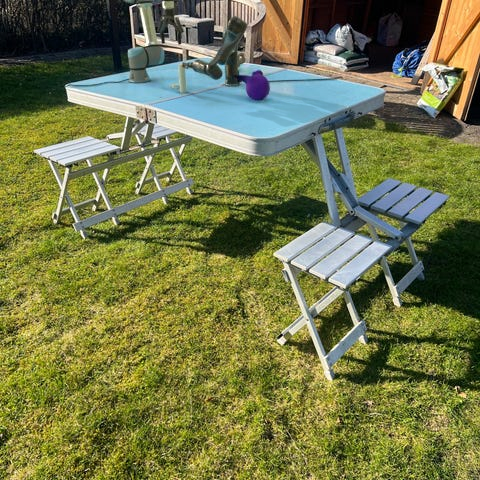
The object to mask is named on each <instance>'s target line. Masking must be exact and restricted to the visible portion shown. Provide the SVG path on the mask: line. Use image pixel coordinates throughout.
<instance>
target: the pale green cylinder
mask: <svg viewBox="0 0 480 480" xmlns="http://www.w3.org/2000/svg"><path fill="white" fill-rule="evenodd" d="M177 69H178V71H177V72H178V82H179V83H178V84H179V91H180V92H179V93H181V94H185V93H188V92H187V91H188V90H187V89H188V88H187V79H186V68H183V66H182V63H178V67H177Z"/></svg>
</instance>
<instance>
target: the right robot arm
mask: <svg viewBox="0 0 480 480" xmlns="http://www.w3.org/2000/svg"><path fill="white" fill-rule="evenodd" d="M248 27H249V25H248V23H247V22H246V21H244V20H243V19H242V18H240V17H239V16H236V15H234V16H231V18H230V19H229V20H228V23H227V28H226V30H225V32H224V34H223V35H222V38H221V46H220V47H219V48H218V50H217V53H216V54H215V55H214V57H213V58H212V59H211V60H210V61H209V62H208V61H205V60H203V59H198V58H197V59H195V60H194V61H188V62H184V61H182V63H181V64H182V66H183V68H185V70H188V69H192V70H193V71H194V72H195V73H198V74H200V75H204V76H207V77H209V78H211V79H212V80H215V81H218V80H221V78H222V77H223V76H224V81H225V86H227V87H236V86H239V85H240V83H243V81H241V80H239V79H237V78H235V77H234V76H233V75H240V70H239V68H238V54H239V42H240V41H241V40H242V38H243V37H244V35H245V33H246V31H247V29H248ZM224 64H225V65H224ZM220 66H224V72H223V70H222V68H221V67H220ZM223 74H224V75H223ZM337 79H342V80H343V79H344V78H343V76H337V77H332V78H331V77H330V78H311V79H309V78H307V79H281V80H279V79H278V80H268V81H269V83H274V82H275V83H277V82H306V81H307V82H308V81H310V82H311V81H330V80H337Z"/></svg>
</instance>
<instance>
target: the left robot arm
mask: <svg viewBox="0 0 480 480" xmlns="http://www.w3.org/2000/svg"><path fill="white" fill-rule="evenodd" d="M123 2H126V3H128V4H135V5H136V7H137V8H138V10H139V14H140V21H141V25H142V31H143V35H144V36H143V37H144V39H145V45H144V47H143V46H136V47H132V48H129V49H127V57H128V66H129V76H128V78H127V79H123V80H120V81H104V82H99V83H94V84H71V83H69V84H66V85H67V86H66V85H65V86H64V88H67V87H69V86H71V87H72V86H73V87H93V86H100V85H103V84H111V83H116V84H117V83H123V82H127V81H128V82H129V83H133V84H141V83H148V82H150V76H149V74H148V71H147V67H146V66H155V65H161V64H163V63H164V61H165V50H164V47H162V46H161V45H163V44H164V45H165V44H166V40H165V39H166V38H165V33H164V31H165V29H166V28H167V27H168V25H170V26H171V25H172V26H173V28H174V29H175V31H176V32H177V45H178V46H179V45H182V39H183V35H182V34H183V33H185V30H184V27H183V25H182V24H181V21H180V16H176V15H175V12H176V11H175V1H174V0H161V5H162V7H161V8H162V15H163V16H159V22H158V25H157V28H156V26H155V21H154V17H153V16H154V15H153V11H152V6H153V5H154V2H155V0H123ZM156 29H157V32H156ZM157 33H159V36H160V37H159V38H160V39H161V44H160V43H159V42H158V39H157ZM70 135H71V140H72V141H74V136H73V131H72V130H70Z"/></svg>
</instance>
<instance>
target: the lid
mask: <svg viewBox="0 0 480 480" xmlns="http://www.w3.org/2000/svg"><path fill="white" fill-rule="evenodd" d="M171 88H172V89H173V90H174V89H175V90H176V89H180V84H179V83H173V84H171Z"/></svg>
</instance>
